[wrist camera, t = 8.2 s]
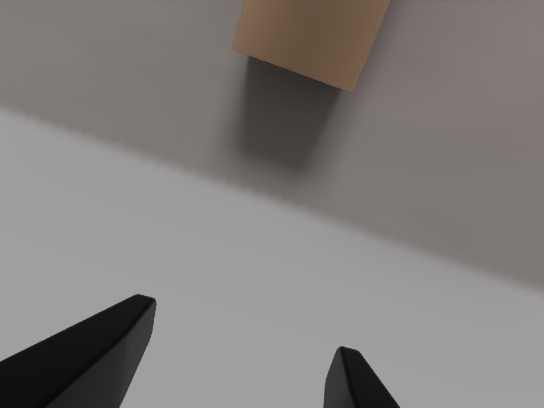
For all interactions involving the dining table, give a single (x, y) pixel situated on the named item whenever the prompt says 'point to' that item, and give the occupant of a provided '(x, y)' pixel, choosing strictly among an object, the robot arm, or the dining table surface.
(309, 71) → the block
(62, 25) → the dining table surface
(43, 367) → the robot arm
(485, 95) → the dining table surface
